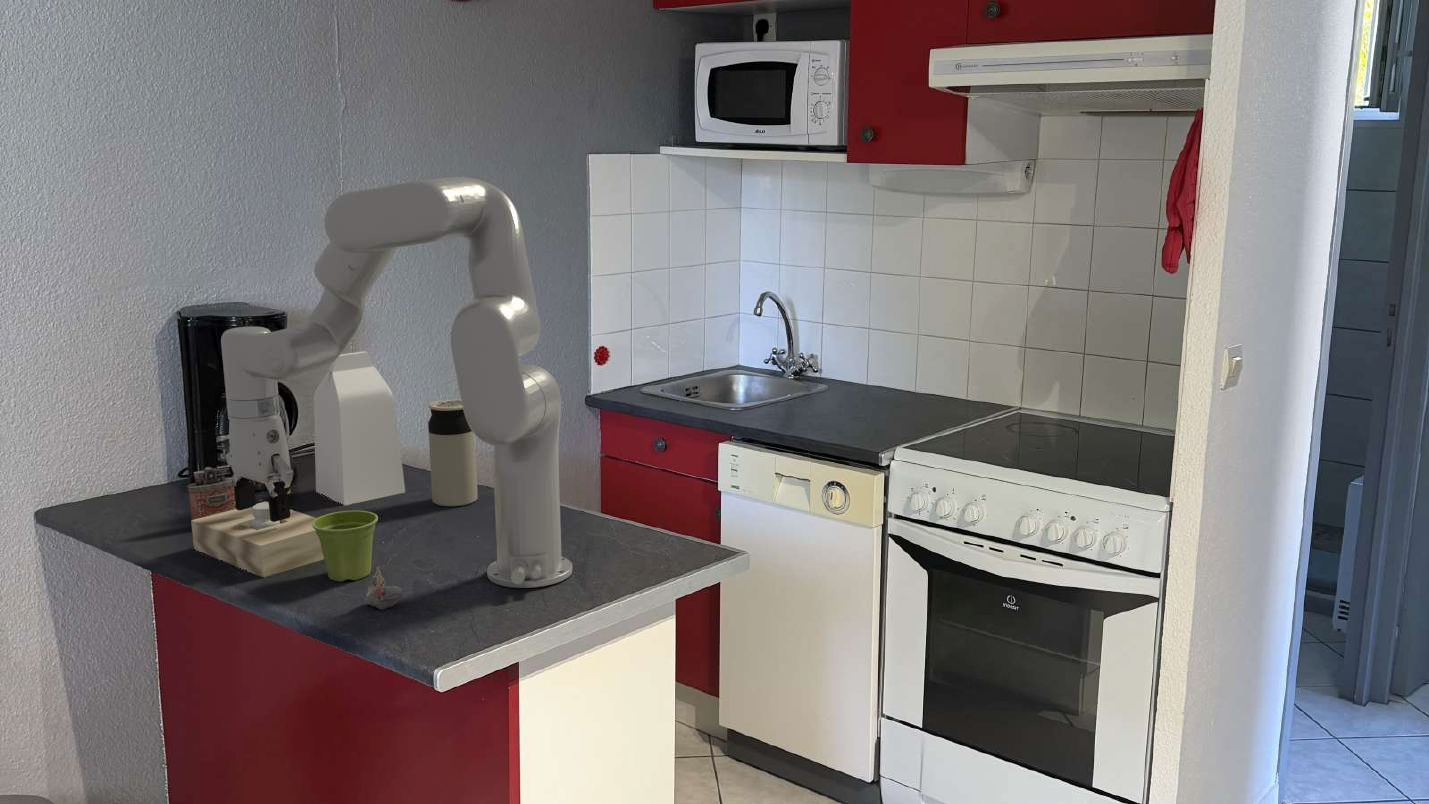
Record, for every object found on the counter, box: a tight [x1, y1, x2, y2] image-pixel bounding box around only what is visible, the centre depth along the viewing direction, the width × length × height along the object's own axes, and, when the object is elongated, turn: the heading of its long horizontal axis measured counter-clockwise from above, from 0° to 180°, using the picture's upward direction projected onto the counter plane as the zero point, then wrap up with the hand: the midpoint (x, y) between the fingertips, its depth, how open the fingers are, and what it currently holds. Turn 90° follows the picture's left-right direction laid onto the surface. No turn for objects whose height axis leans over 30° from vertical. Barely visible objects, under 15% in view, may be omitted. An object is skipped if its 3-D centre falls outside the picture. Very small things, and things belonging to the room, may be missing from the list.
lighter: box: [186, 464, 236, 528], centre depth 208 cm, size 8×3×10 cm, turn 129°
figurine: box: [365, 565, 404, 611], centre depth 172 cm, size 5×4×6 cm
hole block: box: [190, 501, 324, 578], centre depth 194 cm, size 20×13×5 cm, turn 51°
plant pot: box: [312, 510, 379, 582], centre depth 184 cm, size 9×9×9 cm
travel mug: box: [427, 398, 479, 508], centre depth 220 cm, size 8×8×18 cm
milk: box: [313, 350, 406, 506], centre depth 225 cm, size 12×12×26 cm
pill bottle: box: [250, 502, 280, 530], centre depth 194 cm, size 4×4×8 cm
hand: (263, 513), depth 193 cm, fingers open, 9 cm apart
